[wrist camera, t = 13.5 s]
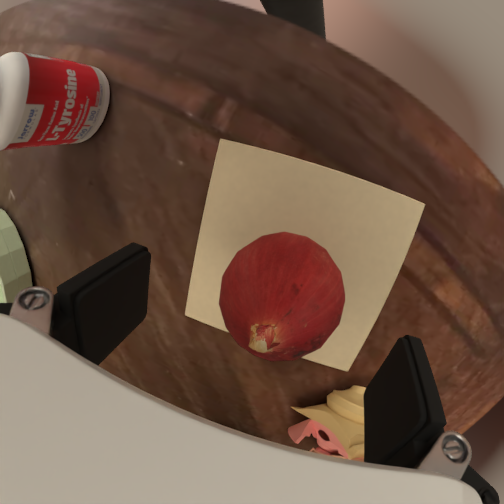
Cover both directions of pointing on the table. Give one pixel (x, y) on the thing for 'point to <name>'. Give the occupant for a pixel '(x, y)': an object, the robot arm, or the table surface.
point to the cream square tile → (303, 234)
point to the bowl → (12, 261)
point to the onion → (282, 296)
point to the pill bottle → (49, 101)
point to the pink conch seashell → (335, 424)
